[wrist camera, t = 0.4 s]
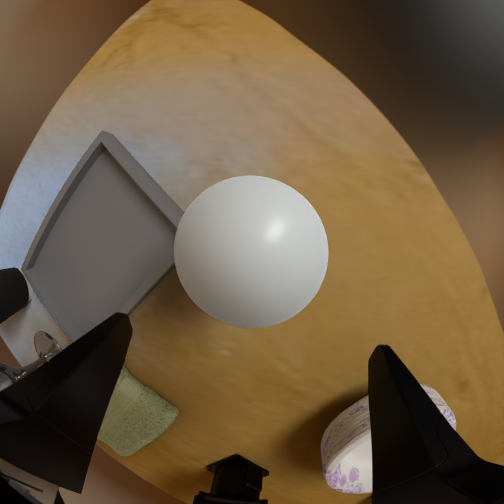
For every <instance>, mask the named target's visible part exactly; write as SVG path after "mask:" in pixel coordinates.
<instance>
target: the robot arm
mask: <svg viewBox="0 0 504 504" xmlns="http://www.w3.org/2000/svg"><path fill="white" fill-rule="evenodd" d="M132 332H133V330H132V326H131V323H130V320H129V317H128V315H127V314H126V313H121V312H116V313H114V314H113V315H111V316H110V317H108V318H107V319H106V320H104V321H103V322H101V323H100V324H98V325H97V326H96V327H94V328H93V329H91V330H90V331H88V332H87V333H86V334H84V335H83V336H81V337H80V338H79V339H77V340H76V341H74V342H73V343H72V344H70V345H69V346H67V347H66V348H65V349H63V350H62V351H61V352H59V353H58V354H56V355H55V356H54V357H52V358H51V359H50V360H49V361H47V362H45V363H44V364H43V365H41V366H40V367H39V368H37V369H36V370H34V371H33V372H31V373H30V374H28V375H27V376H25V377H23V378H22V379H20V380H18V381H17V382H15V383H13V384H12V385H10V386H8V387H7V388H5V389H3V390H1V391H0V504H65V503H64V501H63V499H62V497H61V495H60V493H59V491H58V489H59V487H62V488H65V489H68V490H70V491H73V492H76V493H79V494H81V492H82V489H83V485H84V481H85V477H86V474H87V470H88V466H89V463H90V460H91V456H92V453H93V449H94V446H95V443H96V440H97V437H98V434H99V431H100V428H101V425H102V422H103V419H104V416H105V413H106V410H107V408H108V405H109V402H110V399H111V397H112V394H113V391H114V389H115V386H116V383H117V381H118V378H119V376H120V373H121V370H122V368H123V364H124V361H125V357H126V354H127V350H128V347H129V343H130V340H131V337H132ZM368 402H369V414H370V428H371V446H372V504H504V466H502V465H498V464H495V463H491V462H487V461H485V460H483V459H481V458H480V457H479V456H477V455H476V454H475V452H474V451H473V450H472V449H471V448H470V447H469V446H468V445H467V443H466V442H465V441H464V440H463V439H462V438H461V437H460V436H459V434H458V433H457V432H456V431H455V430H454V428H453V427H452V426H451V425H450V423H449V422H448V421H447V419H446V418H445V417H444V415H443V414H442V413H440V410H439V409H438V407H437V406H436V405H435V403H434V402H433V401H432V399H431V398H430V397H429V395H428V394H427V393H426V391H425V390H424V389H423V388H422V386H421V385H420V384H419V382H418V381H417V380H416V379H415V377H414V376H413V375H412V373H411V372H410V371H409V370H408V368H407V367H406V366H405V365H404V363H403V362H402V361H401V360H400V358H399V357H398V356H397V355H396V353H395V352H394V351H393V350H392V349H391V347H390V346H389V345H378V346H377V347H376V348H375V350H374V351H373V353H372V355H371V356H370V358H369V361H368ZM207 470H208V471H210V472H212V473H214V479H213V483H212V487H211V491H210V493H205V492H203V491H200V492H199V495H195V498H194V501H193V504H268V500H267V499H263V500H259V495H260V492H261V491H262V478H263V477H266V476H268V475H269V471H267V470H265V469H263V468H261V467H259V466H258V465H256V464H254V463H252V462H251V461H249V460H247V459H245V458H244V457H242V456H240V455H234V456H231V457H229V458H227V459H224V460H222V461H219V462H217V463H214V464H212V465H209V466H207Z"/></svg>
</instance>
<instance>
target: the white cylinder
mask: <svg viewBox="0 0 504 504" xmlns="http://www.w3.org/2000/svg"><path fill="white" fill-rule="evenodd" d="M174 261H175V266H176V271H177V274H178V277H179V280H180V282H181V284H182V286H183V288H184V290H185V291H186V293H187V294H188V296H189V297H190V299H191V300H192V301H193V302H194V303H195V304H196V305H197V306H198V307H199V308H200V309H201V310H202V311H203V312H205V313H206V314H208V315H209V316H211V317H212V318H214V319H216V320H218V321H220V322H223V323H225V324H228V325H231V326H236V327H241V328H263V327H269V326H273V325H276V324H279V323H281V322H284V321H286V320H288V319H290V318H291V317H293V316H295V315H296V314H297V313H299V312H300V311H302V310H303V309H304V308H305V307H306V306H307V305H308V304H309V303H310V301H311V300H312V299H313V298H314V296H315V295H316V293H317V292H318V290H319V288H320V286H321V284H322V282H323V279H324V277H325V273H326V269H327V263H328V243H327V237H326V233H325V229H324V227H323V224H322V222H321V220H320V218H319V216H318V214H317V213H316V211H315V209H314V208H313V207H312V205H311V204H310V203H309V202H308V201H307V200H306V199H305V198H304V197H303V196H302V195H301V194H300V193H299V192H297V191H296V190H294V189H293V188H292V187H290V186H288V185H286V184H284V183H282V182H279V181H277V180H274V179H271V178H266V177H262V176H239V177H234V178H229V179H226V180H223V181H220V182H218V183H216V184H214V185H212V186H210V187H209V188H208V189H206V190H205V191H203V192H202V193H201V194H200V195H199V196H197V197H196V198H195V199H194V200H193V202H192V203H191V204H190V205H189V206H188V208H187V209H186V211H185V213H184V214H183V216H182V218H181V220H180V222H179V225H178V228H177V231H176V235H175V241H174Z"/></svg>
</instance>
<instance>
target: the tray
mask: <svg viewBox="0 0 504 504" xmlns="http://www.w3.org/2000/svg"><path fill="white" fill-rule="evenodd" d="M183 214H184V212H183V211H182V210H181V208H180V207H179V206H178V205H177V204H176V203H175V202H174V201H173V200H172V199H171V198H170V197H169V196H168V195H167V193H166V192H165V191H164V190H163V189H162V188H161V187H160V186H159V185H158V184H157V183H156V182H155V180H154V179H153V178H152V177H151V176H150V175H149V174H148V173H147V172H146V171H145V169H144V168H143V167H142V166H141V165H140V164H139V163H138V162H137V161H136V160H135V158H134V157H133V156H132V155H131V154H130V153H129V152H128V151H127V150H126V148H125V147H124V146H123V145H122V144H121V143H120V142H119V141H118V140H117V138H116V137H115V136H114V135H113V134H110V133H108V132H105V131H103V130H102V131H101V132H100V134H99V135H98V136H97V138H96V139H95V140H94V142H93V143H92V144H91V146H90V147H89V148H88V150H87V151H86V152H85V154H84V155H83V157H82V158H81V159H80V161H79V162H78V164H77V165H76V167H75V168H74V170H73V171H72V173H71V174H70V176H69V177H68V179H67V180H66V182H65V184H64V185H63V187H62V188H61V190H60V192H59V193H58V195H57V197H56V199H55V200H54V202H53V204H52V206H51V207H50V209H49V211H48V213H47V215H46V216H45V218H44V220H43V222H42V224H41V226H40V228H39V230H38V232H37V234H36V236H35V238H34V240H33V243H32V245H31V247H30V249H29V251H28V254H27V256H26V258H25V261H24V263H23V265H22V268H21V271H22V273H23V274H24V276H25V278H26V279H27V281H28V282H29V284H30V285H31V287H32V289H33V290H34V292H35V293H36V295H37V296H38V298H39V299H40V300H41V302H42V303H43V305H44V306H45V308H46V309H47V310H48V312H49V313H50V314H51V316H52V317H53V318H54V320H55V321H56V322H57V324H58V325H59V326H60V327H61V329H62V330H63V331H64V332H65V334H66V335H67V336H68V337H69V339H70V340H71V341H72V342H74V341H76V340H77V339H79V338H80V337H81V336H83V335H84V334H86V333H87V332H88V331H90V330H91V329H93V328H94V327H96V326H97V325H98V324H100V323H101V322H103V321H104V320H106V319H107V318H108V317H110V316H111V315H113V314H114V313H116V312H121V313H126V314H127V315H129V314H130V313H131V312H132V311H133V310H134V309H135V308H136V306H137V305H138V304H139V303H140V302H141V301H142V300H143V299H144V298H145V297H146V295H147V294H148V293H149V292H150V291H151V290H152V289H153V288H154V287H155V286H156V285H157V284H158V282H159V281H160V280H161V279H162V278H163V277H164V276H165V275H166V274H167V273H168V272H169V271H170V270H171V269H172V268H173V267H174V265H175V261H174V241H175V235H176V231H177V228H178V225H179V222H180V220H181V218H182V216H183Z"/></svg>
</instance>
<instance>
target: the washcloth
mask: <svg viewBox="0 0 504 504" xmlns="http://www.w3.org/2000/svg"><path fill="white" fill-rule="evenodd" d="M178 413H179V412H178V409H177V408H176V407H175V406H173V405H171V404H170V403H169V402H167V401H166V400H164V399H163V398H161V397H159V395H158V394H157V393H154V391H153V390H152V389H150V387H148V386H144V385H143V384H142V383H141V382H139V381H138V380H137V379H136V378H134V377H133V376H132V375H131V374H130V373H129V371H128V369H126V368H125V367H124V366H123V368H122V370H121V373H120V376H119V378H118V381H117V383H116V386H115V389H114V391H113V394H112V397H111V399H110V402H109V405H108V408H107V410H106V413H105V416H104V419H103V422H102V425H101V428H100V431H99V434H98V437H97V439H99V440H101V441H103V442H105V443H106V444H108V445H109V446H110V447H111V448H112V449H113V450H114V451H115V452H116V453H117V454H118V455H121V456H125V457H127V456H129V455H131V454H134V453H136V452H137V451H138V450H139V451H140V449H141V448H142V447H144V446H146V445H147V444H148V443H151V442H152V441H153V440H154V439H155V438H156V437H158V436H160V435H161V434H163V433H164V431H165V430H166V429H167V428H168V427H169V425H171V423H172V422H174V421H175V419H176V417H177V416H179V415H178Z"/></svg>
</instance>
